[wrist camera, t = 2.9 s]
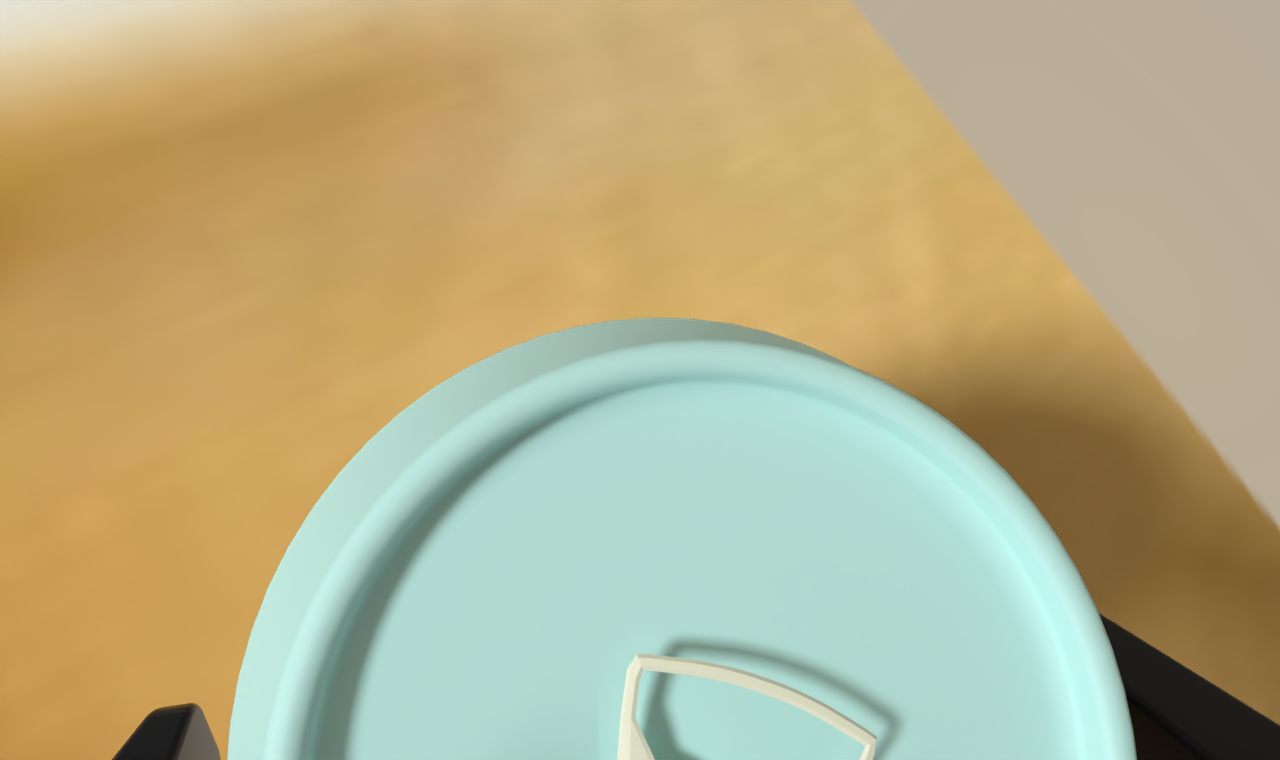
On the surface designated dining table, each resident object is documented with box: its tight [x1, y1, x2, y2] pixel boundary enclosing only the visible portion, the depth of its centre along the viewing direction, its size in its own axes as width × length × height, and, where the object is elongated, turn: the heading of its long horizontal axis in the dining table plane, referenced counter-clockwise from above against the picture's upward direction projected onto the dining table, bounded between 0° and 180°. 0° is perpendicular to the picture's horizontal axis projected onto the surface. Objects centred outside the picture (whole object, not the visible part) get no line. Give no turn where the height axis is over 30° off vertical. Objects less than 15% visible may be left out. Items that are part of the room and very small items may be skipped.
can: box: [227, 318, 1137, 760], centre depth 11 cm, size 7×7×12 cm
